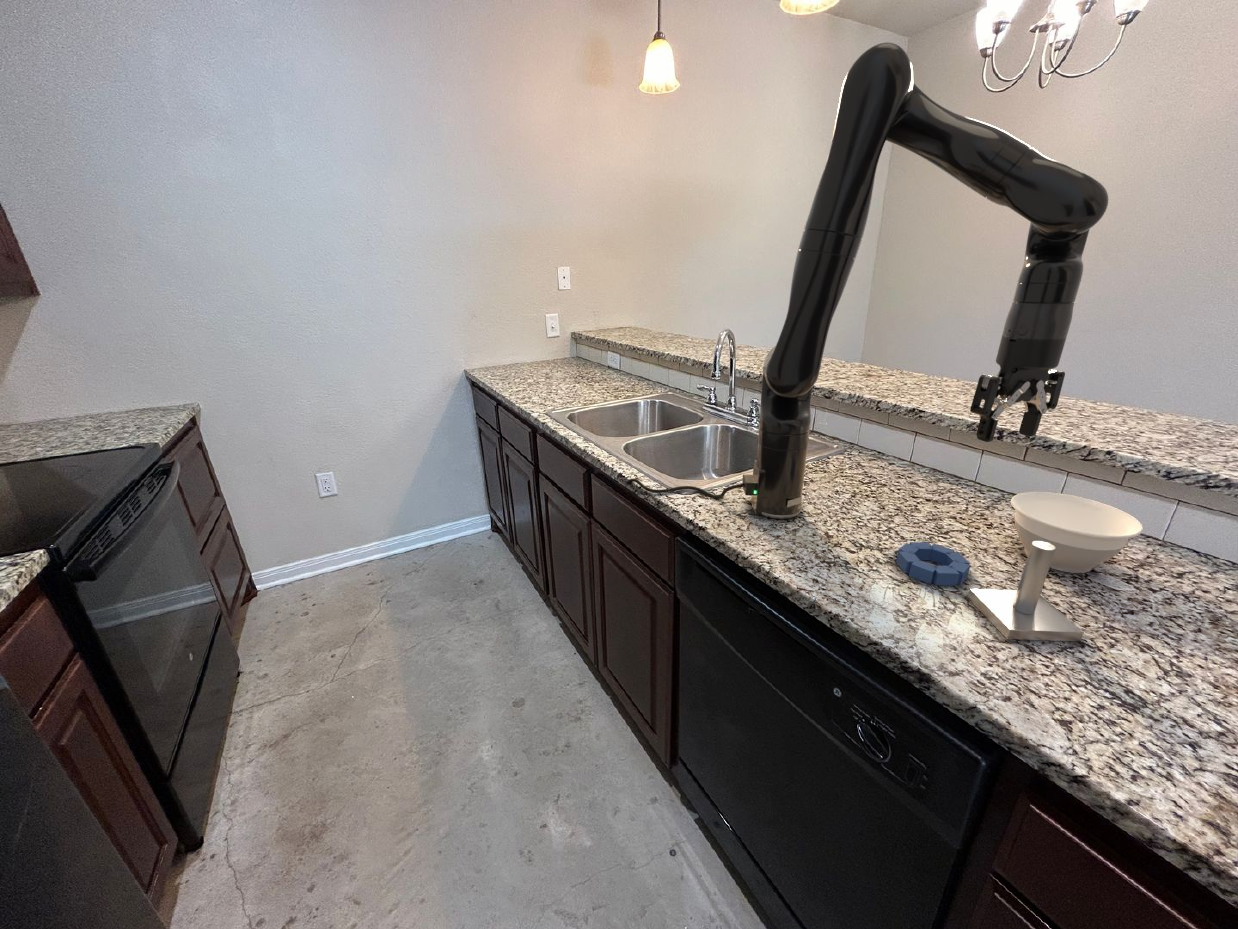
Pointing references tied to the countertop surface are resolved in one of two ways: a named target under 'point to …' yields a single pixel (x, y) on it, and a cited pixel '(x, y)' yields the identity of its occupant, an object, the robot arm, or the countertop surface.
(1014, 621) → the metal peg stand
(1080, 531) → the bowl
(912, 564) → the ring
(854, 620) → the countertop surface
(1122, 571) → the countertop surface
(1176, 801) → the countertop surface
